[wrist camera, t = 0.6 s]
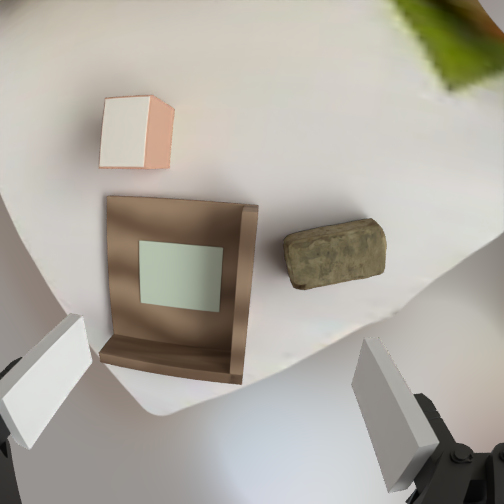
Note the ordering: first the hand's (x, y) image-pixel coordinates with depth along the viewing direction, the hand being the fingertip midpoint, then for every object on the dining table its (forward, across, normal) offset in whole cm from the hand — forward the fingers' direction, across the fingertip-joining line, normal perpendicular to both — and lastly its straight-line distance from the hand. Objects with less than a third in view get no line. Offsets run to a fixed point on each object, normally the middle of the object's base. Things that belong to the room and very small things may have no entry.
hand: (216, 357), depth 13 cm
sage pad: (+23, -7, -5) cm, 24 cm away
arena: (+24, -8, -6) cm, 26 cm away
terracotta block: (+24, -11, +11) cm, 29 cm away
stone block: (+24, +10, -1) cm, 26 cm away
